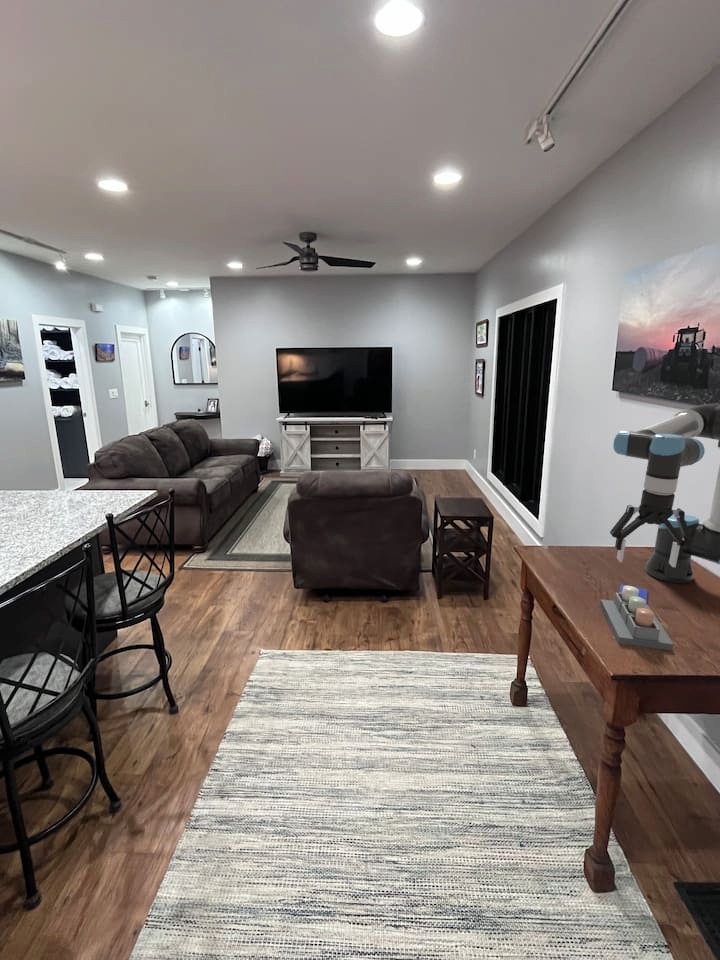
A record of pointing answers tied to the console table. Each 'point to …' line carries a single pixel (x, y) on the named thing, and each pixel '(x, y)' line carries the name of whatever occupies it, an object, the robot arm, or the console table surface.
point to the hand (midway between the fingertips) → (645, 562)
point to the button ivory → (629, 593)
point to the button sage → (636, 604)
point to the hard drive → (641, 592)
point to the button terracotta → (644, 617)
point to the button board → (633, 626)
